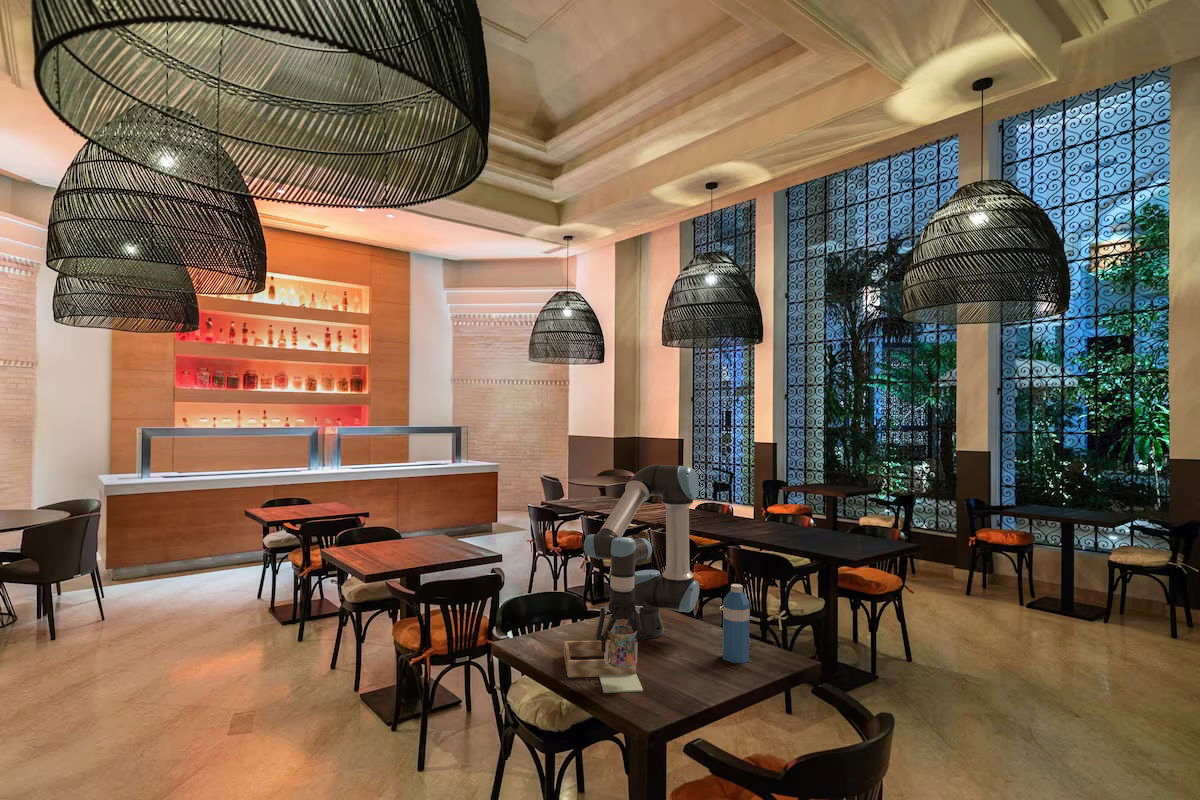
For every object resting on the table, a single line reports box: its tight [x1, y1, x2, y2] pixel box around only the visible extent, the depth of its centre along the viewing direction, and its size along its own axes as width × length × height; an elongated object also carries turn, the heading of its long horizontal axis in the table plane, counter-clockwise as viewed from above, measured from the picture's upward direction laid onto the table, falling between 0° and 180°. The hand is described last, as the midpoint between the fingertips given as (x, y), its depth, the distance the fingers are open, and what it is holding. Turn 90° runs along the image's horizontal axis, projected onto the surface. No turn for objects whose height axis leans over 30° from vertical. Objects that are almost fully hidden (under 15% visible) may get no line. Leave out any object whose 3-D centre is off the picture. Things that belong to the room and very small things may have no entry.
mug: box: [607, 624, 637, 668], centre depth 200 cm, size 12×9×11 cm
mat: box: [599, 673, 644, 694], centre depth 200 cm, size 12×12×1 cm
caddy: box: [563, 639, 637, 678], centre depth 215 cm, size 22×18×5 cm
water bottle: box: [722, 583, 751, 664], centre depth 224 cm, size 9×9×25 cm
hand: (620, 662), depth 200 cm, fingers closed on mug, 8 cm apart
